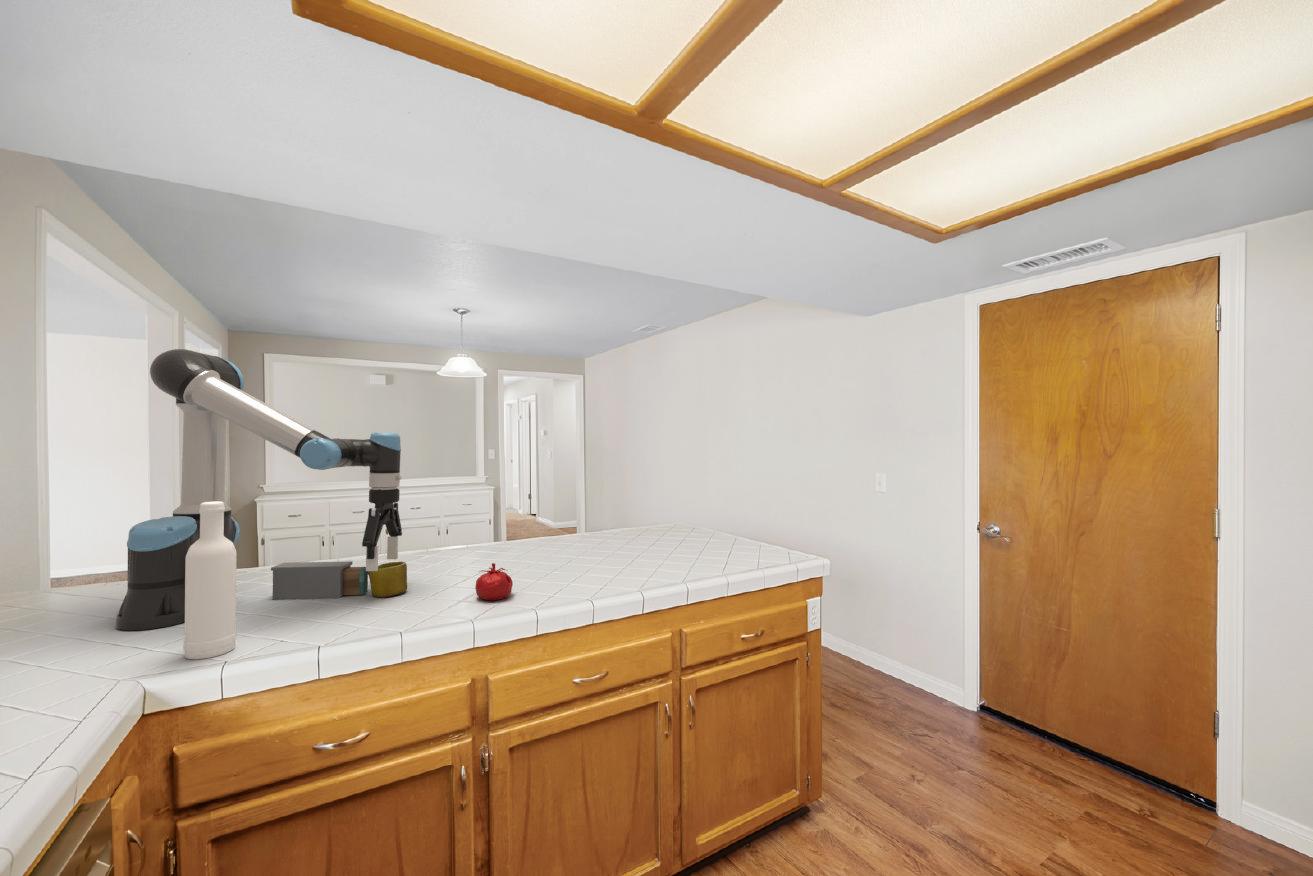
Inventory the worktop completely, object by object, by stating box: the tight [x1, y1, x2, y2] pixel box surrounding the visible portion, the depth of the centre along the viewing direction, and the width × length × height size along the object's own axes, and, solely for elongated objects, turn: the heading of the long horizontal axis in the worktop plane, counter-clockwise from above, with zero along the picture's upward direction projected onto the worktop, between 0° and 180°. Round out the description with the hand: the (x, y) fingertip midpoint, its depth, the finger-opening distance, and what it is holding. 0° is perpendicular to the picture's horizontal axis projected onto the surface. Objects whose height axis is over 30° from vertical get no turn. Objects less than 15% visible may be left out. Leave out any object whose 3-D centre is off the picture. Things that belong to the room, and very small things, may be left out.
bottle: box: [183, 501, 238, 660], centre depth 104 cm, size 8×8×30 cm
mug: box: [368, 561, 408, 599], centre depth 145 cm, size 12×10×10 cm
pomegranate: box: [474, 562, 514, 602], centre depth 141 cm, size 10×10×9 cm
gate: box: [342, 566, 369, 596], centre depth 142 cm, size 3×16×7 cm, turn 96°
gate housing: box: [270, 561, 353, 601], centre depth 142 cm, size 6×18×8 cm, turn 96°
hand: (382, 564), depth 144 cm, fingers open, 13 cm apart
